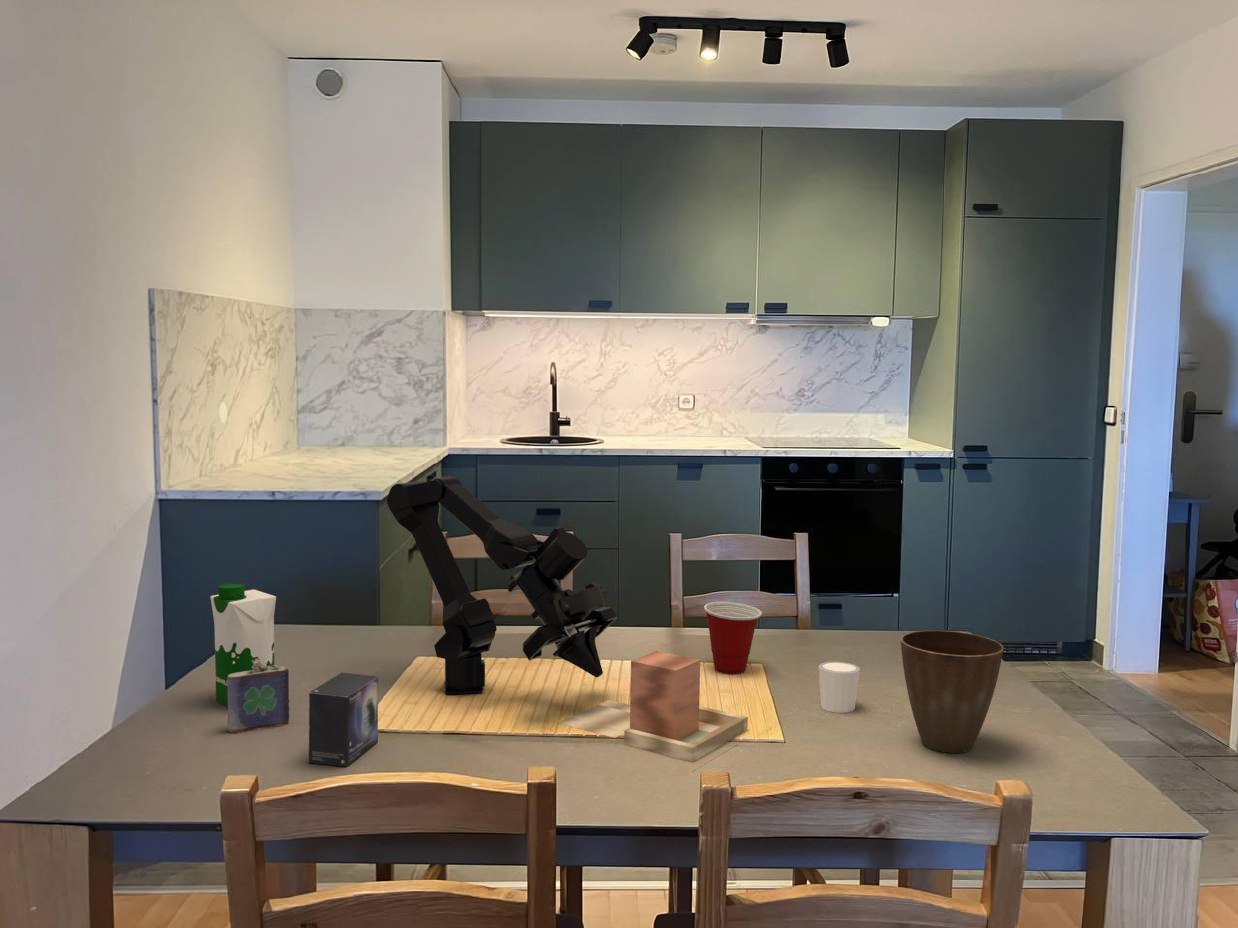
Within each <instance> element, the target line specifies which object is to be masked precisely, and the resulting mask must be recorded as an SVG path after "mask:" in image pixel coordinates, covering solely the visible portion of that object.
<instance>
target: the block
mask: <svg viewBox="0 0 1238 928" xmlns="http://www.w3.org/2000/svg"><path fill="white" fill-rule="evenodd" d="M700 678H701V659H697V658H694V657H693V658H692V657H687V656H682V655H678V654H672V653H669V652H668V653H667V652H663V651H658V650H655V651H653V652H650V653H647V654H645V655H643V656H642V655H641V656H639V657H638V658H635V659H633V660H630V693H629V694H630V695H629V697H630V699H629V700H630V701H629V705H630V729H634V730H638V731H642V732H645V733H649V734H653V735H657V736H661V737H665V738H669V739H673V740H677V741H679V740H681V739H683V738H685V737H687V736H689V735H690V734H692V733H694V732H696V731H698V730H699V706H700V694H701V693H700V690H701V689H700V688H701V686H700V685H701V679H700Z"/></svg>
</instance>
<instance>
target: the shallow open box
mask: <svg viewBox="0 0 1238 928" xmlns="http://www.w3.org/2000/svg"><path fill="white" fill-rule="evenodd" d="M748 723H749V717H748V716H744V715H740V714H737V713H732V712H727V711H723V710H719V709H715V708H710V707H705V706H703V705H702V706H701V705H699V730H698V731H696V732H694V733H692V734H690V735H689V736H687V737H685V738H683V739H681V740H679V741H677V740H673V739H669V738H665V737H661V736H657V735H653V734H649V733H645V732H642V731H638V730H634V729H630V703H624V702H620V701H615V700H613V699H607V700H605V701H604V702H601V703H598V704H596V705H594V706H592V707H590V708H588V709H584V710H582V711H581V712H578V713H576V714H574V715H572V716H569V717H567V718H564V719H563V720H560V721H557V723H556V724H561V725H564V726H567V727H571V728H575V729H579V730H583V731H586V732H587V731H588V732H590V733H593V734H599V735H601V736H606V737H609V738H613V739H616V738H619V737H620V736H622V735H623V736H624V737H623V739H624V740H623V745H627V746H630V747H634V748H638V749H641V750H646V751H650V752H653V753H657V754H660V755H664V756H668V757H672V758H675V759H679V760H683V761H687V762H690V763H693V762H695V761H697V760H698V759H701V758H702V757H704V756H706V755H707V754H709V753H710V752H713V751H714V750H715V749H718V748H719V747H721V746H722V745H724V744H726V743H727V742H729V741H731V740H733V739H735V738H736V737H738V736H739V735H742V734H743V733H745V732H747V731H748V730H749V729H748V728H749V727H748V726H749V725H748ZM736 746H738V744H736V745H735V747H736ZM732 749H733V747H731V748H730V750H732ZM727 752H728V750H727V751H725V753H727ZM721 755H723V753H722V754H720V756H721ZM717 758H718V756H716V757H715V759H717ZM712 761H713V759H711V760H710V761H709V760H708V762H707V763H704V764H703V765H701V766H699V768H701V767H703V766H705V765H706V764H708V763H709V762H712ZM699 768H698V769H699ZM695 771H696V769H694V770H693V772H695Z"/></svg>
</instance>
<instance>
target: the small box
mask: <svg viewBox="0 0 1238 928" xmlns="http://www.w3.org/2000/svg"><path fill="white" fill-rule="evenodd" d="M378 742H379V677H378V675H377V676H375V675H366V674H357V673H350V672H340V673H339V674H337V675H335V676H333V677H332V678H331V679H329V680H327V681H325V682H324V683H322V684H320V685H318V686H317V687H315V688H314V689H312V690H311V691H309V692H308V762H307V763H309V764H319V765H329V766H337V767H349V765H351V764H352V763H354V762H355V761H356V760H357V759H359V758H360V757H362V755H364V754H365V753H366V752H368V751H369V750H370V749H372V748H373V746H375V745H376V744H378Z"/></svg>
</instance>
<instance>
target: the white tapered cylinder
mask: <svg viewBox="0 0 1238 928" xmlns="http://www.w3.org/2000/svg"><path fill="white" fill-rule="evenodd" d="M860 670H861V667H860V666H858V665H856V664H853V663H849V662H844V661H843V662H842V661H826V662H822V663H819V665H818V677H819V679H818V680H819V691H820V692H819V695H820V707H821V708H822V709H823V710H825V711H828V712H831V713H840V714H842V713H850V712H854V711H855V709H856V702H857V701H856V700H857V693H858V686H859V678H860Z"/></svg>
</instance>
